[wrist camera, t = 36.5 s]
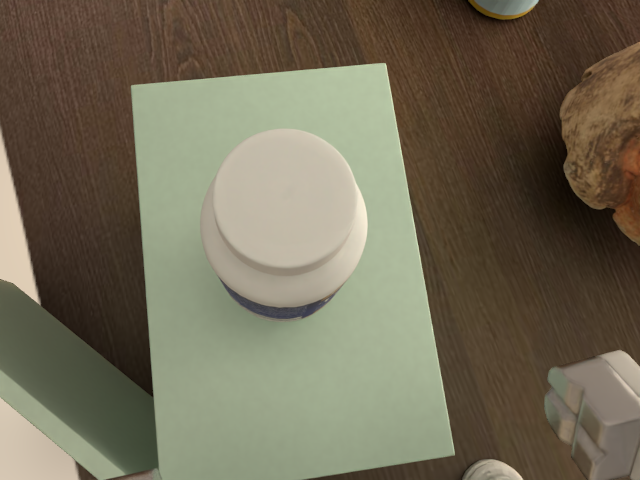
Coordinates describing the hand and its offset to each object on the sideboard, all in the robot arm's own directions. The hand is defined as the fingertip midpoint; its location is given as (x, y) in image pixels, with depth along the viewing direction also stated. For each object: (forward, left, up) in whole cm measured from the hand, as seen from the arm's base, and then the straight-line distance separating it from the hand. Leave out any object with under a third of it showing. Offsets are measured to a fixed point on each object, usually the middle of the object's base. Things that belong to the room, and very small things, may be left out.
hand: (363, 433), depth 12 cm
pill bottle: (-1, +6, -13) cm, 14 cm away
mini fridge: (-1, +6, -30) cm, 31 cm away
